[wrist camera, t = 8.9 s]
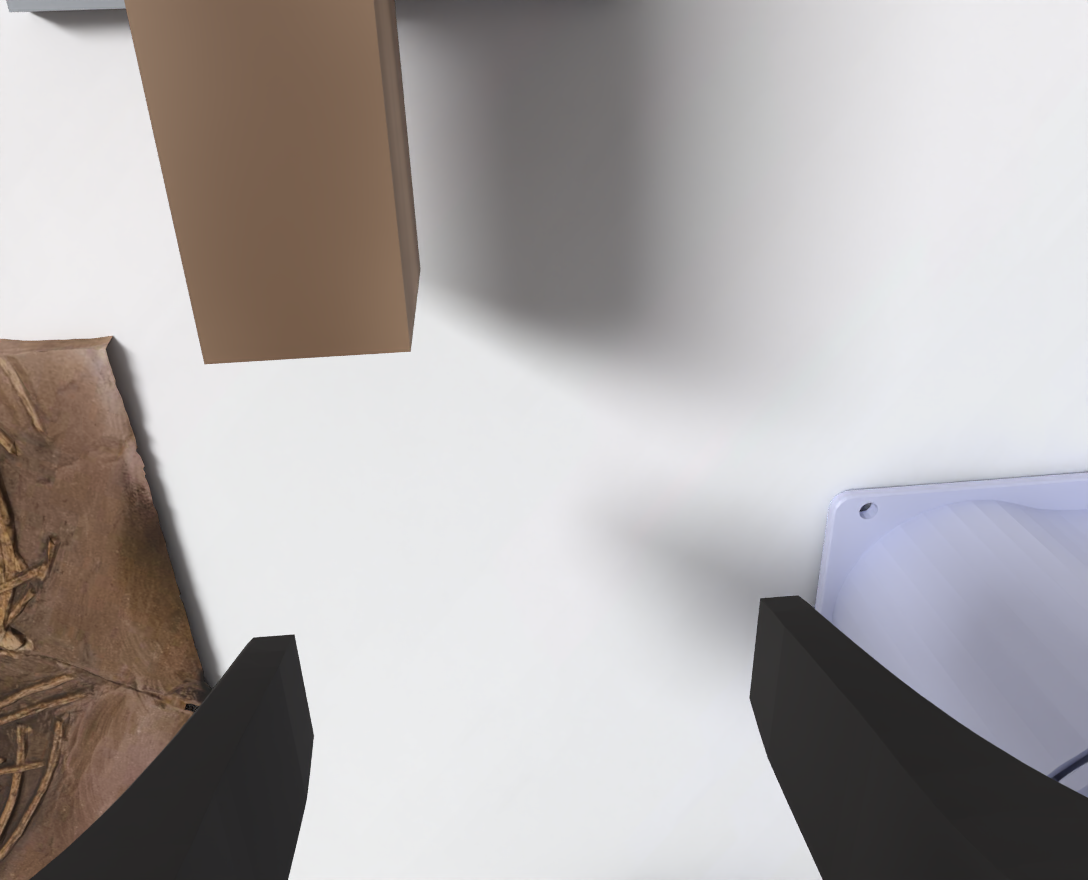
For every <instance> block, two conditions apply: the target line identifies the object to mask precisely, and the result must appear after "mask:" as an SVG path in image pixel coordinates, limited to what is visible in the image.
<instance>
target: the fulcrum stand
mask: <svg viewBox="0 0 1088 880" xmlns="http://www.w3.org/2000/svg"><path fill="white" fill-rule="evenodd" d="M6 1H7V5H8V9H9V12H37V11H67V10H98V9H126V7H125V2H124V0H6Z"/></svg>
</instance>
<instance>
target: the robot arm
mask: <svg viewBox="0 0 1088 880" xmlns="http://www.w3.org/2000/svg"><path fill="white" fill-rule="evenodd" d="M867 503H872V504H871V506H870V508H868V509H867V510H866V511H862V512H859V511H860V509H861V507H862V506H863V505H865V504H867ZM750 701H751V705H752V708H753V711H754V715H755V718H756V722H757V725H758V728H759V732H760V735H761V738H762V741H763V744H764V747H765V750H766V754H767V757H768V759H769V762H770V764H771V766H772V768H773V771H774V773H775V775H776V778H777V780H778V782H779V784H780V786H781V789H782V791H783V793H784V795H785V798H786V800H787V802H788V804H789V807H790V809H791V811H792V813H793V815H794V818H795V820H796V822H797V824H798V826H799V829H800V831H801V833H802V835H803V837H804V840H805V842H806V844H807V846H808V848H809V850H810V853H811V855H812V857H813V859H814V861H815V864H816V866H817V868H818V870H819V872H820V875H821V877H822V879H823V880H1088V472H1085V473H1072V474H1059V475H1046V476H1033V477H1019V478H1006V479H993V480H980V481H966V482H953V483H940V484H927V485H914V486H900V487H887V488H874V489H861V490H848V491H844V492H841V493H839V494H838V495H836V496H835V497H834V498H833V499H832V500H831V502H830V505H829V509H828V516H827V523H826V531H825V538H824V545H823V553H822V560H821V567H820V574H819V582H818V589H817V596H816V603H815V609H814V608H813V607H812V606H811V605H809V604H808V603H807V602H806V601H804V600H803V599H802V598H801V597H800V596H786V597H773V598H760V606H759V615H758V625H757V634H756V643H755V652H754V661H753V671H752V680H751V689H750ZM313 739H314V734H313V728H312V723H311V718H310V713H309V708H308V703H307V697H306V692H305V687H304V682H303V677H302V672H301V666H300V661H299V656H298V651H297V646H296V641H295V635H282V636H269V637H256V638H253V639H252V640H251V641H250V642H249V643H248V644H247V645H246V646H245V648H244V649H243V650H242V652H241V653H240V654H239V656H238V657H237V658H236V659H235V661H234V662H233V663H232V665H231V666H230V667H229V669H228V670H227V671H226V673H225V674H224V675H223V677H222V678H221V679H220V680H219V682H218V683H217V684H216V686H215V687H214V688H213V689H212V691H211V692H210V693H209V694H208V696H207V697H206V698H205V700H204V701H203V702H202V703H201V705H200V706H199V707H198V708H197V710H196V711H195V712H194V713H193V714H192V716H191V717H190V718H189V719H188V720H187V722H186V723H185V724H184V725H183V726H182V728H181V729H180V730H179V731H178V733H177V734H176V735H175V736H174V737H173V739H172V740H171V741H170V742H169V743H168V744H167V746H166V747H165V748H164V749H163V750H162V751H161V752H160V753H159V755H158V756H157V757H156V758H155V759H154V760H153V761H152V762H151V763H150V764H149V766H148V767H147V768H146V769H145V770H144V771H143V772H142V773H141V774H140V775H139V777H138V778H137V779H136V780H135V781H134V782H133V783H132V784H131V785H130V786H129V788H128V789H127V790H126V791H125V792H124V793H123V794H122V795H121V796H120V797H119V798H118V799H117V800H116V801H115V802H114V803H113V804H112V805H111V806H110V807H109V808H108V809H107V810H106V811H105V812H104V813H103V814H102V815H101V816H100V817H99V818H98V819H97V820H96V821H95V822H94V823H93V824H92V825H91V826H90V827H89V828H88V829H87V830H85V831H84V832H83V833H82V834H81V835H80V836H79V837H78V838H77V839H76V840H75V841H74V842H73V843H72V844H71V845H69V846H68V847H67V848H66V849H65V850H64V851H63V852H62V853H60V854H59V855H58V856H57V857H56V858H55V859H53V860H52V861H51V862H50V863H49V864H47V865H46V866H45V867H44V868H42V869H41V870H40V871H39V872H38V873H36V874H35V875H34V876H33V877H32V878H30V879H29V880H288V877H289V873H290V869H291V865H292V861H293V857H294V852H295V848H296V844H297V840H298V835H299V831H300V827H301V822H302V818H303V814H304V809H305V805H306V800H307V793H308V785H309V776H310V768H311V758H312V748H313Z"/></svg>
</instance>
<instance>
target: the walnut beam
mask: <svg viewBox="0 0 1088 880" xmlns="http://www.w3.org/2000/svg"><path fill="white" fill-rule="evenodd" d="M124 2H125V7H126V11H127V16H128V21H129V25H130V30H131V34H132V39H133V43H134V48H135V52H136V57H137V61H138V66H139V70H140V75H141V79H142V84H143V88H144V93H145V97H146V102H147V106H148V111H149V115H150V120H151V124H152V129H153V133H154V138H155V143H156V147H157V152H158V156H159V161H160V165H161V170H162V174H163V179H164V183H165V188H166V192H167V197H168V201H169V206H170V210H171V215H172V219H173V224H174V228H175V233H176V237H177V242H178V246H179V251H180V255H181V260H182V265H183V269H184V274H185V278H186V283H187V287H188V292H189V296H190V301H191V305H192V310H193V314H194V319H195V323H196V328H197V332H198V337H199V341H200V346H201V350H202V355H203V359H204V364H216V363H232V362H249V361H265V360H281V359H297V358H314V357H330V356H346V355H362V354H379V353H395V352H411V344H412V335H413V327H414V318H415V310H416V302H417V293H418V285H419V276H420V261H419V251H418V240H417V230H416V219H415V209H414V199H413V188H412V178H411V167H410V157H409V146H408V136H407V126H406V115H405V105H404V94H403V84H402V73H401V63H400V53H399V42H398V32H397V21H396V11H395V0H124Z"/></svg>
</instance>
